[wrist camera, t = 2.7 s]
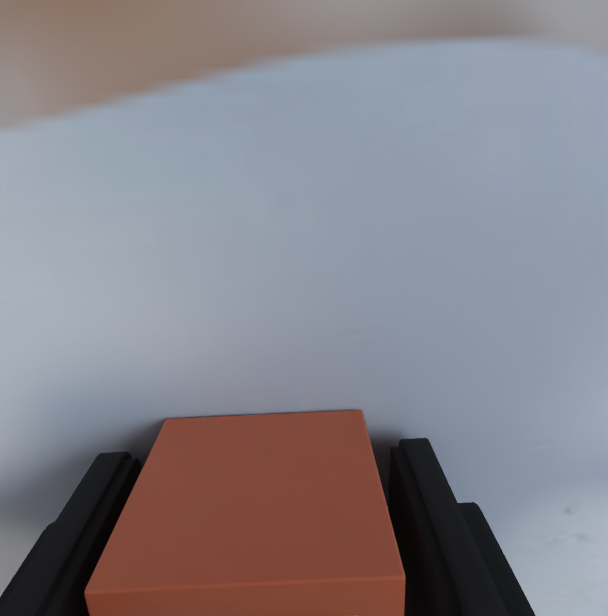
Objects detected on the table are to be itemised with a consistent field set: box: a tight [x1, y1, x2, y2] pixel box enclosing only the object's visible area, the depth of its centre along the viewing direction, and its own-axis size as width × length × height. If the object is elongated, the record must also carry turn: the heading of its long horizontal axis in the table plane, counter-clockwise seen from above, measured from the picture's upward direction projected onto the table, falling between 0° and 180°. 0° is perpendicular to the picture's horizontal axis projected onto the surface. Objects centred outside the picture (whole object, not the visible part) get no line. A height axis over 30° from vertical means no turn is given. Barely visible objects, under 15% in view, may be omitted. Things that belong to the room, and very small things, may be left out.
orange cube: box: [84, 410, 406, 616], centre depth 8 cm, size 4×4×4 cm
